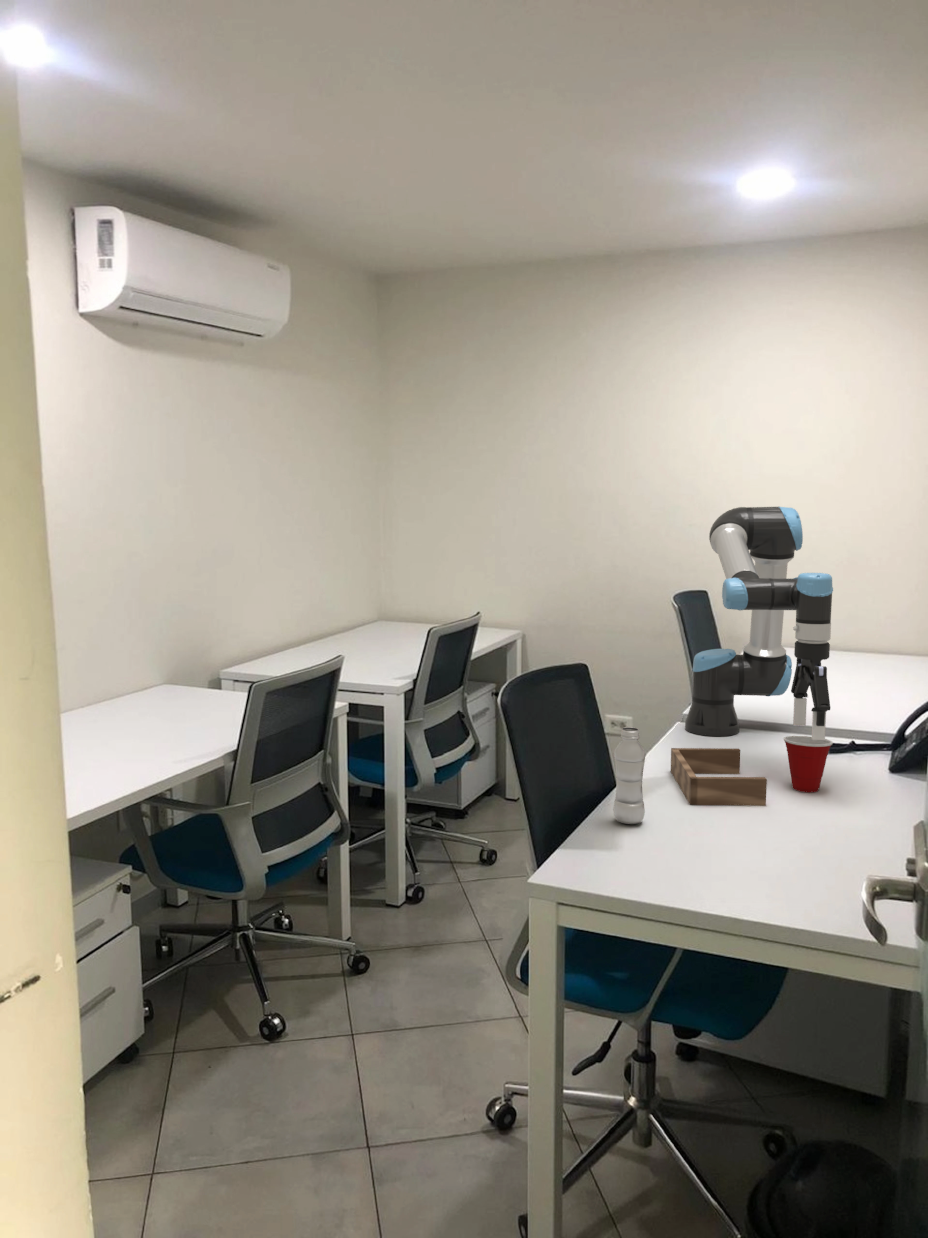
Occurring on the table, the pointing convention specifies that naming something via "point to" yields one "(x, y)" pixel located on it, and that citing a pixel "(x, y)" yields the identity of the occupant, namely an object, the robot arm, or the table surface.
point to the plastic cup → (806, 761)
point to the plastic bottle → (629, 778)
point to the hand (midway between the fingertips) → (808, 732)
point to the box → (715, 788)
